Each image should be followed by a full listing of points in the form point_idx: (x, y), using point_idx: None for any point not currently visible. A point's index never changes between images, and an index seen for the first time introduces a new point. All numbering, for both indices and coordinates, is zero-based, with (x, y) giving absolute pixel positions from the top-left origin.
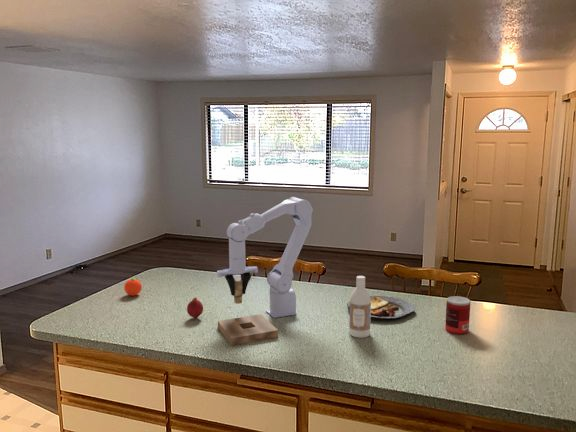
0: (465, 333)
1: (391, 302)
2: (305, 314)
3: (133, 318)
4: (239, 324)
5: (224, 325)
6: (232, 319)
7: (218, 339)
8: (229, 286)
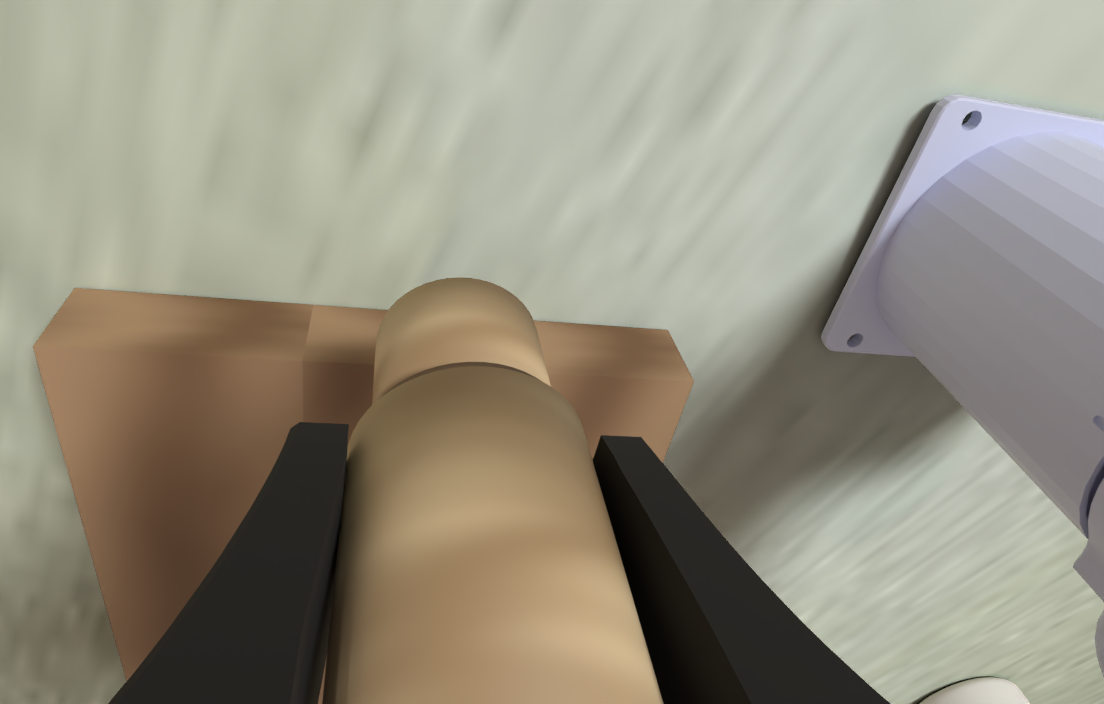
0: None
1: None
2: None
3: None
4: None
5: (115, 497)
6: (278, 383)
7: (42, 535)
8: (202, 615)
